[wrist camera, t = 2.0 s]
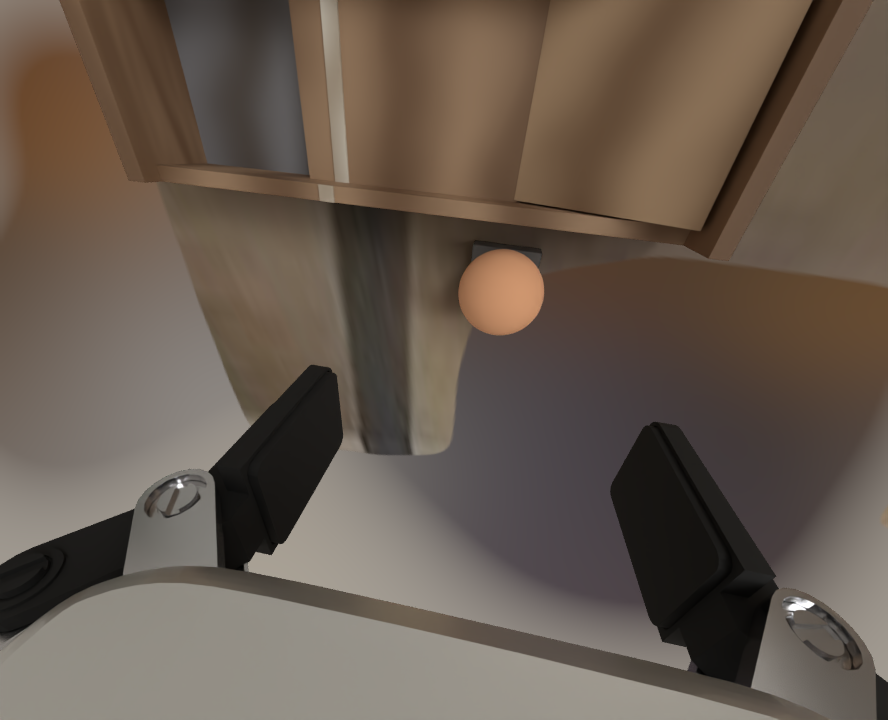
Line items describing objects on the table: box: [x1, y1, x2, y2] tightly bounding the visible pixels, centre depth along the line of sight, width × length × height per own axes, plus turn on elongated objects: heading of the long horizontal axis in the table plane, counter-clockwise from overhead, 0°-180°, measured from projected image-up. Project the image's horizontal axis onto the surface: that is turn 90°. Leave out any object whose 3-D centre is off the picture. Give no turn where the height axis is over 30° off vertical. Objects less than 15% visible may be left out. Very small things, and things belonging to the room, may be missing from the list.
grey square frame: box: [471, 241, 542, 268], centre depth 22 cm, size 4×4×1 cm
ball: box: [458, 249, 544, 335], centre depth 20 cm, size 5×5×5 cm
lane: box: [60, 0, 874, 261], centre depth 15 cm, size 30×10×6 cm, turn 85°
